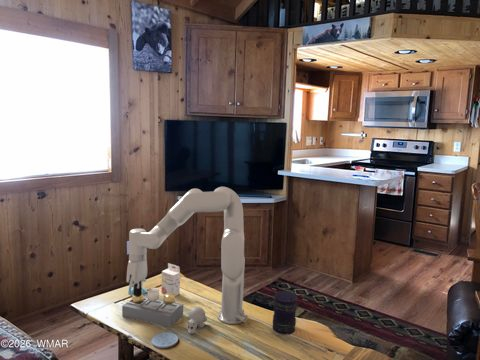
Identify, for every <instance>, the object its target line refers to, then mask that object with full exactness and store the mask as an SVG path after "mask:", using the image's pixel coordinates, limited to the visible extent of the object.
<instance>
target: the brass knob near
mask: <svg viewBox="0 0 480 360" xmlns="http://www.w3.org/2000/svg"><path fill="white" fill-rule="evenodd" d="M162 298H163V299H162V300H163V302H164V304H173V303H175V302H176V296H175V294H174V293H166V294H164V293H163V297H162Z"/></svg>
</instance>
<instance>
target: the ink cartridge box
mask: <svg viewBox="0 0 480 360" xmlns="http://www.w3.org/2000/svg"><path fill="white" fill-rule="evenodd" d="M180 287H181V268H180V266H179V265H176V264H172V263H169V262H168V263H167V268H166V269H164V270H162V271H161V293H162V294H163V295H164V294H166V293H174V294H175V297H176V296H178V295H180V293H181V292H180V290H181V289H180Z"/></svg>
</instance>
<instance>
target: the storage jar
mask: <svg viewBox="0 0 480 360" xmlns="http://www.w3.org/2000/svg"><path fill="white" fill-rule="evenodd" d="M273 298H274V299H273V311H274V312H273V314H272V330H273V331H274V333H276V334H279V335H284V336H287V335H292V334H294V333H295V331H296V324H297V322H296V321H297V319H296V318H297V317H296V313H297V312H296V311H297V309H298V308H297V306H298V303H297V302H298V296H297V295H296V294H295V293H293V292H291V291H287V290H283V291H277V292H275V293H274V297H273Z"/></svg>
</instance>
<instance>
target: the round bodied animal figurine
mask: <svg viewBox="0 0 480 360" xmlns="http://www.w3.org/2000/svg"><path fill="white" fill-rule="evenodd" d="M187 317H188V320H186V323H187V325H186V326H187V333H188V334H189V335H193V334H194V333H195V330H196V329H197V328H199V329H202V328H204V326H205V322H207V320H208V318H207V316H206V311H205V310H204V308H203V307H200V306H194V307H192V308H191V309H190V310H189V312H188V315H187Z"/></svg>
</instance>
